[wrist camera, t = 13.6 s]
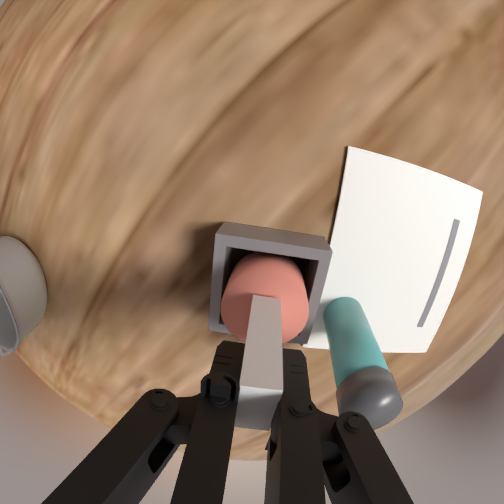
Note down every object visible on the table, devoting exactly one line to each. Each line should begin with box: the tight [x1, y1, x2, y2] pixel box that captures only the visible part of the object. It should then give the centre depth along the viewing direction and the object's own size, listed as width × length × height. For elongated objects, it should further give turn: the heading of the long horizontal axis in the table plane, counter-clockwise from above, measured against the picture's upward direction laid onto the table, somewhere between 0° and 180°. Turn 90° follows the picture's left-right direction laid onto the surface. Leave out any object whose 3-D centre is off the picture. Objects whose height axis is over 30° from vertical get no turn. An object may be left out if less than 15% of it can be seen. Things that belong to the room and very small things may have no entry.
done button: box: [221, 251, 309, 344], centre depth 17 cm, size 5×5×3 cm
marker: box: [323, 297, 403, 430], centre depth 16 cm, size 3×3×10 cm
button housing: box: [208, 222, 333, 344], centre depth 18 cm, size 7×7×3 cm
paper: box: [303, 146, 483, 353], centre depth 19 cm, size 16×13×1 cm
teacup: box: [0, 236, 47, 356], centre depth 19 cm, size 14×11×8 cm
